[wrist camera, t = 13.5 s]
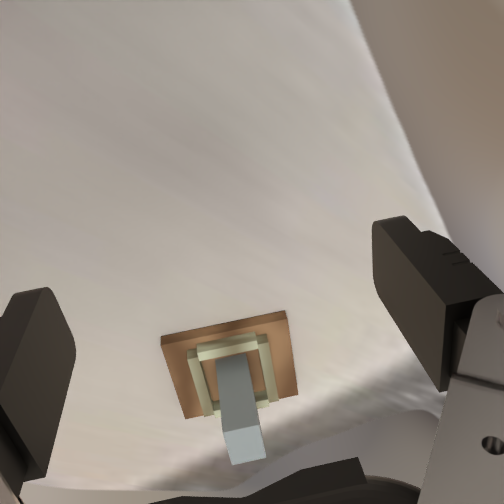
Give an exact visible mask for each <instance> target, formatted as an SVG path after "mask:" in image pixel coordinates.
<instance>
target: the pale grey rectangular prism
mask: <svg viewBox="0 0 504 504" xmlns="http://www.w3.org/2000/svg"><path fill="white" fill-rule="evenodd" d="M215 363H216V372H217V382H218V392H219V401H220V411H221V420H222V430H223V435H224V439H225V442H226V446H227V449H228V453H229V456H230V460H231V463H232V465H235V464H240V463H244V462H248V461H253V460H257V459H262V458H266V453H265V448H264V443H263V437H262V432H261V427H260V421H259V416H258V411H257V406H256V400H255V395H254V390H253V385H252V380H251V375H250V371H249V366H248V361H247V357H246V353H243V354H238V355H234V356H229V357H225V358H220V359H215Z"/></svg>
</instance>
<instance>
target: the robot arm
mask: <svg viewBox="0 0 504 504" xmlns="http://www.w3.org/2000/svg"><path fill="white" fill-rule="evenodd" d="M372 258H373V279H374V284H375V288H376V291H377V293H378V296H379V298H380V299H381V301H382V302H383V304H384V306H385V307H386V309H387V310H388V312H389V314H390V315H391V317H392V318H393V320H394V321H395V323H396V325H397V326H398V328H399V329H400V331H401V333H402V334H403V336H404V337H405V339H406V340H407V342H408V344H409V345H410V347H411V348H412V350H413V352H414V353H415V355H416V356H417V358H418V359H419V361H420V363H421V364H422V366H423V367H424V369H425V371H426V372H427V374H428V375H429V377H430V379H431V380H432V382H433V383H434V385H435V386H436V388H437V390H438V391H439V392H444V391H447V395H446V399H445V402H444V406H443V410H442V414H441V417H440V421H439V425H438V429H437V432H436V436H435V440H434V444H433V447H432V451H431V455H430V458H429V462H428V466H427V469H426V473H425V477H424V481H423V485H422V488H421V489H420V488H418V487H416V486H413V485H411V484H408V483H405V482H402V481H399V480H395V479H391V478H386V477H380V476H370V475H364V472H363V469H362V467H361V464H360V462H359V459H358V457H355V458H351V459H346V460H342V461H337V462H333V463H329V464H324V465H320V466H315V467H311V468H306V469H302V470H300V471H297V472H296V473H294V474H291V475H289V476H287V477H285V478H283V479H281V480H279V481H277V482H275V483H273V484H271V485H269V486H267V487H265V488H263V489H261V490H259V491H257V492H255V493H253V494H251V495H249V496H247V497H243V498H223V497H221V498H220V497H190V496H181V497H176V498H172V499H167V500H163V501H159V502H154V503H150V504H504V293H503V292H502V291H501V290H500V289H499V288H498V287H497V286H496V285H495V284H494V283H493V282H492V281H491V280H490V279H489V278H488V277H487V276H486V275H485V274H484V273H483V272H482V271H480V270H479V269H478V268H477V267H476V266H475V265H474V264H473V263H470V260H469V259H468V258H467V257H466V256H465V255H464V254H463V253H460V250H459V249H458V248H457V247H456V246H455V245H454V244H453V243H452V242H451V241H450V240H449V239H447V238H445V237H443V236H441V235H439V234H436V233H434V232H432V231H430V230H428V231H423V232H421V231H420V230H419V229H418V228H417V227H416V226H415V225H414V224H413V223H412V222H411V221H410V220H409V219H408V218H407V217H406V216H398V217H393V218H388V219H383V220H378V221H374V223H373V225H372ZM75 359H76V348H75V342H74V338H73V335H72V333H71V331H70V328H69V326H68V324H67V322H66V320H65V317H64V315H63V313H62V311H61V309H60V306H59V304H58V302H57V300H56V298H55V295H54V293H53V292H52V290H51V289H50V288H48V287H43V288H38V289H33V290H28V291H24V292H19V293H15V294H14V295H13V296H12V298H11V300H10V302H9V304H8V306H7V307H6V309H5V311H4V313H3V315H2V317H0V504H25V503H24V502H23V500H22V499H21V498H20V496H19V495H20V491H21V488H22V485H23V482H26V481H30V480H35V479H39V478H44V477H46V473H47V469H48V465H49V461H50V457H51V453H52V449H53V445H54V442H55V438H56V434H57V430H58V426H59V422H60V418H61V414H62V410H63V406H64V403H65V399H66V395H67V391H68V387H69V383H70V379H71V375H72V371H73V367H74V364H75Z"/></svg>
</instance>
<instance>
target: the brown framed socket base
mask: <svg viewBox="0 0 504 504" xmlns="http://www.w3.org/2000/svg"><path fill="white" fill-rule="evenodd" d="M161 348H162V351H163V354H164V357H165V360H166V363H167V366H168V369H169V372H170V375H171V378H172V381H173V384H174V387H175V390H176V393H177V396H178V399H179V402H180V405H181V408H182V411H183V414H184V417H185V419H189V418H193V417H198V416H203V415H204V417H206V416H211V415H215V418H218V417H221V411H220V401H219V392H218V382H217V372H216V363H215V359H220V358H225V357H229V356H234V355H238V354H243V353H246V357H247V361H248V366H249V371H250V375H251V380H252V385H253V390H254V395H255V400H256V406H257V409H259V408H264V407H269V403H271V402H275V401H279V399H281V398H285V397H290V396H295V395H298V389H297V382H296V375H295V368H294V361H293V354H292V347H291V340H290V333H289V326H288V320H287V316H286V313H285V311H280V312H276V313H271V314H266V315H261V316H256V317H252V318H247V319H242V320H237V321H233V322H228V323H223V324H218V325H213V326H209V327H204V328H199V329H194V330H189V331H185V332H180V333H175V334H170V335H166V336H161Z"/></svg>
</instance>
